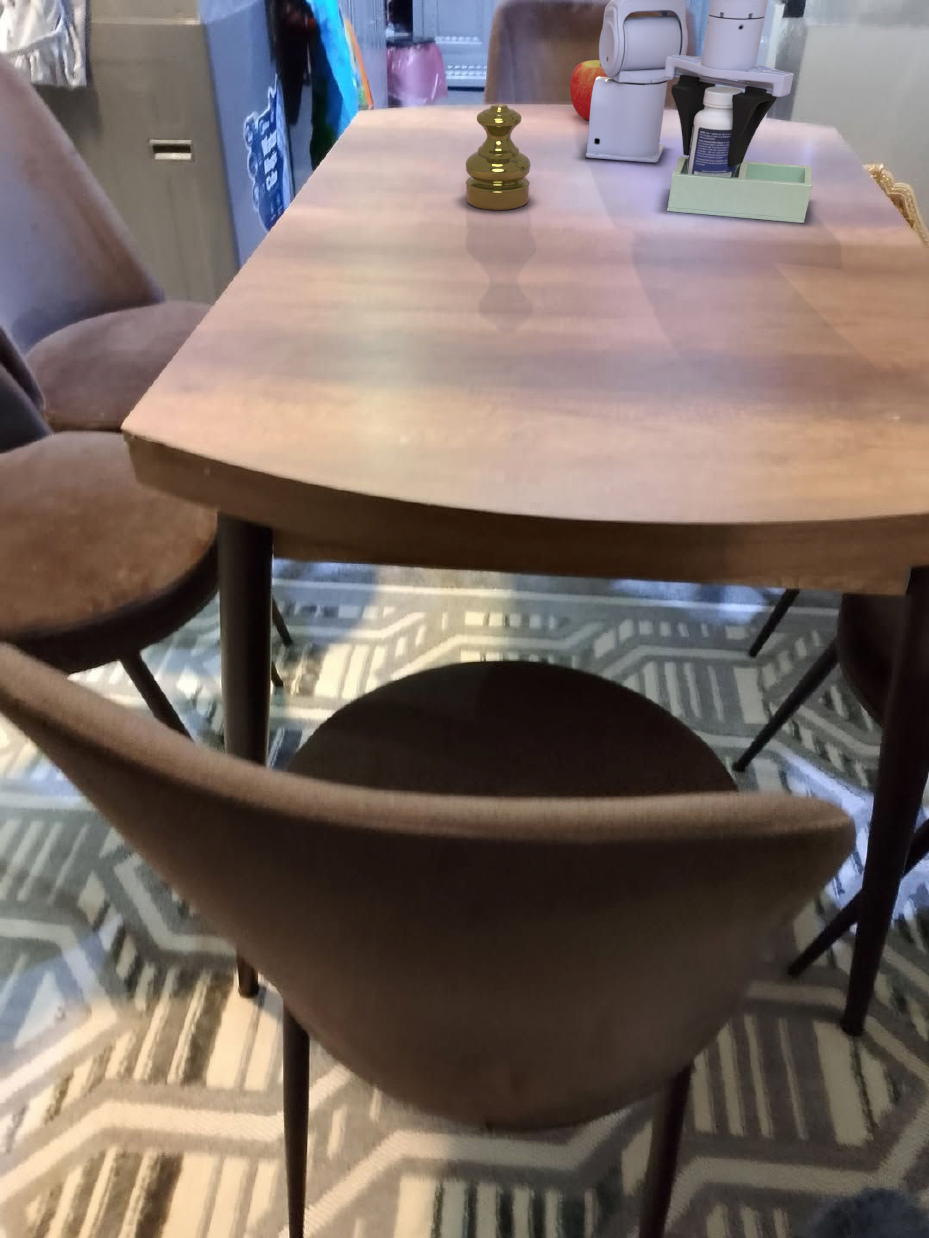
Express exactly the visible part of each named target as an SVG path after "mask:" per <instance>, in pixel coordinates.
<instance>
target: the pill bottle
mask: <svg viewBox="0 0 929 1238" xmlns="http://www.w3.org/2000/svg"><path fill="white" fill-rule="evenodd" d="M742 92H743V93H744V91H743V89H741V88H735V87H730V86H715V87H709V88H706V89H705V94H704V99H703V101H704V102H703V104H704V105H705V108H704V109H703V110H701V111H699V112H698V113H697V114H696V116H695V118H694V123H693V130H692V137H691V144H690V150H689V156H687V157H688V163H687V171H686V174H696V175H709V176H722V177H734V175H735V170H736V165H735V166H730V165H728V152H729V146H730V141H731V135H732V124H733V106H732V96H733V95H735V94H739V93H742Z"/></svg>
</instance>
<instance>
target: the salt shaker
mask: <svg viewBox="0 0 929 1238" xmlns="http://www.w3.org/2000/svg"><path fill="white" fill-rule="evenodd" d="M476 122H477V123H478V124H479V125H480V126H481V128H483V130H484V131H485V134H486V139H485V140H484V142H483V143H482V144H481V145H480V146H479V147H478V148H477V151H475V152H473V153H472V154H470V155H469V157H467V159H466V161H465V170H466V171H465V172H466V173H467V174H468V176H470V177H468V178H467V179H466V180H465V187H466V188H465V189H466V190H465V196H466V197H465V200H466V201H467V203H468V204H469V205H471V206H472V207H475V208H478V209H482V210H488V211H508V210H513V209H517V208H521V207H523V206H524V205H526V204H527V203H528V201H529V196H530V195H529V194H530V193H529V192H530V190H529V189H530V184H531V182H530V181H529V179H528V178H526V177H527V176H528V174H529V173H530V171H531V161H530V159H529V158H528V156H526V155H525V154H524V153H522V152H521V151H520V149H519V147H518V146H516V144H515V143H514V141H513V140H512V138H511V135H512V132H513V131H514V129H515V128H516V127H517V126H518V125H519V124H521V122H522V115H521V113H520V112H517V111H516V110H515V109H513V108H510V107H509V106H508V105H507V104H506V103H493V104H492V105H491V106H490V107H488V108H485V109H483V110H482V111H480V112H479V113H478V114H476Z"/></svg>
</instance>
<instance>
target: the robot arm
mask: <svg viewBox="0 0 929 1238" xmlns="http://www.w3.org/2000/svg"><path fill="white" fill-rule="evenodd" d="M768 2H769V0H709V7H708V14H707V21H706V26H705V27H706V28H705V34H704V40H703V47H702V53H701V56H696V55H695V56H693V55H687V52H688V46H689V45H688V44H689V31H688V28H687V27H688V26H687V3H686V1H685V0H609V2H608V3H607V4H606V6H605V7H604V12H603V22H602V26H601V27H602V28H601V32H600V36H599V41H598V43H599V44H598V57H599V60H600V64H601V67H602V69H603V70H604V72H605V74H606V76H608V77H597V78H596V80H595V82H594V86H593V91H592V98H591V107H590V119H589V120H588V130H587V145H586V153H585V158H589V159H603V160H612V161H613V160H614V161H615V160H616V161H627V162H638V163H639V162H640V163H654V164H657V163H658V162H659V160H660V158H661V156H662V153H663V152H664V150H665V144H663V143H661V134H662V126H663V119H664V112H665V111H664V110H665V104H666V96H667V89H668V81H671V80H674V78H678V81H677V83H675V84H672V85H671V88H670V90H671V91H670V93H671V96H672V99H673V101H674V103H675V104H674V105H675V106H676V110H677V114H678V118H679V123H680V130H681V139H682V154H683V156H686V157H689V150H690V144H691V137H692V130H693V123H694V118H695V116H696V114H697V113H698V112H699V111H701V110H703V109H704V108H705V105H704V104H703V102H704V101H703V99H704V94H705V89H706V88H709V87H716V85H717V86H718V85H719V86H723V87H733V88H738V89H741V90H744V91H743V92H742V93H739V94H735V95H733V96H732V106H733V124H732V135H731V141H730V146H729V152H728V165H730V166H735V165H738V164H741V163H742V162H743V161H745V157H746V154H747V151H748V149H749V147H750V144H751V142H752V140H753V139H754V136H755V133H756V132H757V130H758V129H759V127H760V124H761V123H762V122H763V120H764V118H765V116H766V115H767V114H768V112H769V111H770V109H771V108H772V106H773V105H774V103H775V102H776V100H777V98H781V97H786V96H789V95H791V90H792V85H793V81H794V76H795V73H794V72H789V71H783V70H781V69H780V70H779V69H776V68H773V67H769V66H765V65H763V64H758V63H757V62H758V58H759V57H758V56H759V51H760V46H761V42H762V41H761V40H762V34H763V29H764V24H765V19H766V13H767V7H768V4H769V3H768ZM631 13H657V14H659V15H654V16H631V17H630V16H629V15H630V14H631Z"/></svg>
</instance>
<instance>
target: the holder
mask: <svg viewBox="0 0 929 1238" xmlns="http://www.w3.org/2000/svg"><path fill="white" fill-rule="evenodd" d="M688 157H689V156H685V155H683V156H682V155H679V157H678V160H677V163H676V165H675V167H674V169H673V172H672V175H671V180H670V189H669V195H668V202H667V209H666V211H667V212H673V213H674V212H675V213H685V214H696V215H709V216H718V217H729V218H730V217H731V218H741V219H742V218H743V219H753V220H763V221H775V222H786V223H787V222H788V223H798V224H804V223H805V219H806V216H807V211H808V207H809V204H810V203H809V202H810V198H811V193H812V190H813V166H812V165H803V164H789V163H775V162H764V161H763V162H762V161H748V160H743V162H742V163H741V164H738V165H736V170H735V175H734V177H722V176H709V175H696V174H686V171H687V163H688Z"/></svg>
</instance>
